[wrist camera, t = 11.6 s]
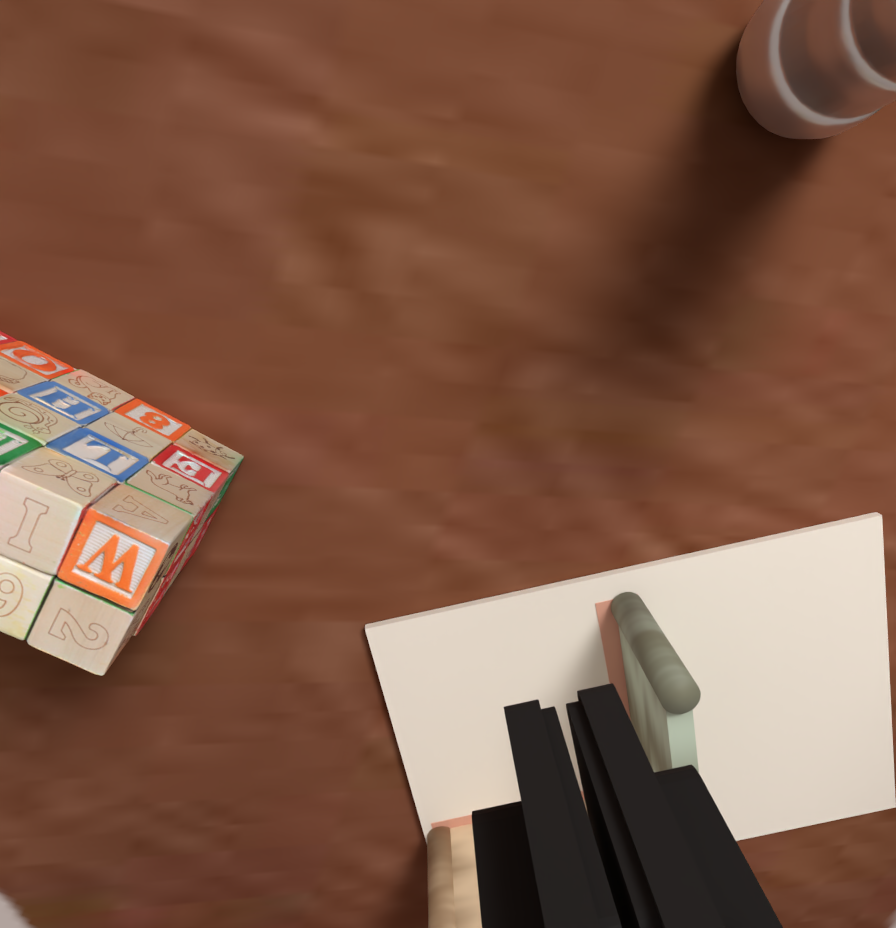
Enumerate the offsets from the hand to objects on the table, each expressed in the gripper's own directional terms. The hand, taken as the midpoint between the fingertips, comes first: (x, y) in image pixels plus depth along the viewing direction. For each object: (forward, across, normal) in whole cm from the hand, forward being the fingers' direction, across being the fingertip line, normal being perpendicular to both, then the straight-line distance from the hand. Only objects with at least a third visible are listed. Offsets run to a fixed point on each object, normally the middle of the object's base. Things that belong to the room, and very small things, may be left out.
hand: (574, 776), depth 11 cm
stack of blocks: (+28, +21, -5) cm, 35 cm away
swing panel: (+26, -6, +18) cm, 33 cm away
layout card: (+27, -6, +21) cm, 35 cm away
